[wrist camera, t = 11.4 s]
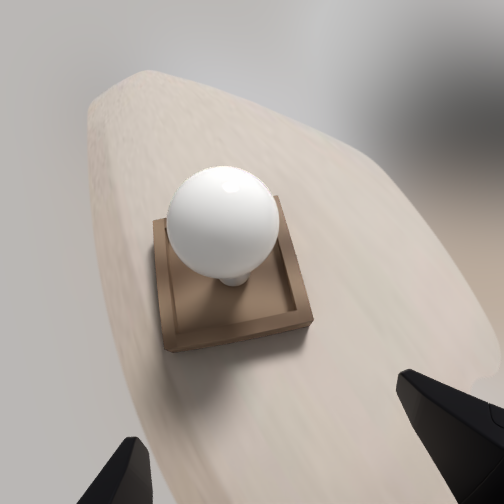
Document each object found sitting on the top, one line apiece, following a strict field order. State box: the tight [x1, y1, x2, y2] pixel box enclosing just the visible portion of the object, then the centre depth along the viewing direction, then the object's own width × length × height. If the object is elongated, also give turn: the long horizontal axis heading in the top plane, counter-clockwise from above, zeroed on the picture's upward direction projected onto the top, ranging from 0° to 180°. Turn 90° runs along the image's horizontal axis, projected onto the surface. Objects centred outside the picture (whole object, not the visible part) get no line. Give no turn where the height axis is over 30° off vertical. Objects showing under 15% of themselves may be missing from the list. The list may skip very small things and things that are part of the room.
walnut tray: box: [153, 196, 314, 353], centre depth 24 cm, size 11×11×2 cm
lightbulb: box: [166, 166, 279, 286], centre depth 19 cm, size 6×6×11 cm
